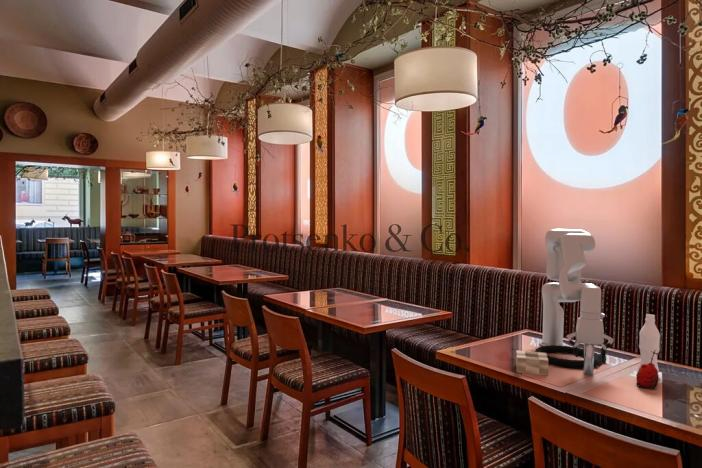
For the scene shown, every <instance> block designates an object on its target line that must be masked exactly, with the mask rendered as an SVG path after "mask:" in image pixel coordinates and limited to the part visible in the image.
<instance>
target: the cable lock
mask: <svg viewBox="0 0 702 468" xmlns="http://www.w3.org/2000/svg"><path fill="white" fill-rule="evenodd" d="M533 352H541V353H546V354H547V358H548V365H551V366H555V367H561V368H567V369H584V359H566V358H559V357H555V356H550V355H548V354H552V353H556V354H558V353H559V354H561V353H562V354H569V355H570V354H571V355H574V353H573V352H574V346H569V345H566V346H557V345H550V346H539V347H537V348H535V350H534V351H533ZM578 357H583V358H584V348H581V347H578ZM604 362H605V363H606V362H607V356H606V357H604V360H602V359H601V353H597V352H594V368H596V367H598V366H599V365H601V364H604Z"/></svg>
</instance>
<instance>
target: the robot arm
mask: <svg viewBox="0 0 702 468" xmlns="http://www.w3.org/2000/svg"><path fill="white" fill-rule="evenodd" d="M544 242H545V243H544V244H545V247H546V251H547V256H546V269H545V270H546V271H545V272H546V277H547V279H548V280H550V282H547V283H544V284H543V285H542V287H541V295H542V340H539V342H538V345H540V346H541V347H543V346H550V345H557V346H567V344H566V342H564V315H565V313H564V308H563V307H562V306H561V305H560V303H575V302H578V301H580V307H579V309H580V310H579V317H577V320H576V327H575V331H574V332H571V333H569V334H567V335H566V338H567V340H568V341H569V344H571V345H572V347H574V352H573V353H574V354H573V356H575V358H578V357H579V355H578V348H579V347H578V346H579V345H580V344H594V346H597V345H598V346H601V348H600V354H601V359H602V360H604V357H606V358H607V354H606V353H607V349H608V348H610V347H611V345H613V343H614V338H612V337H611V336H609V335H606V333H605V331H604V328H605V327H604V323H603V320H602V318H605V316H606V314H605V313H602V312H601V311H602V289H601V288H600V286H598V285H595V284H594V283H589V282H585V283H584V282H582V269H583V268H584V267H585V266H586V265H587V258H586V255H585V253H591V252H593V251H594V250H595V248H596V240H595V237H594V236H593V235H592V234H591V232H588V231H585V230H583V229H577V228H575V229H574V228H573V229H571V228H570V229H569V228H553V229H548V230H547V231H546V233H545V235H544ZM551 281H558V282H551ZM573 337H575V341H574V340H572V339H573ZM605 339H606V340H607V341H608V342H605ZM604 343H605V344H604Z"/></svg>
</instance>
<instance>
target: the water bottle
mask: <svg viewBox="0 0 702 468" xmlns="http://www.w3.org/2000/svg"><path fill="white" fill-rule="evenodd" d="M644 321H645V322H644V325H643V326H642V327H641V329H640V330H639V342H638V343H639V344H638V348H639V352H640V361H639V364H638V366H637V367H638V369H637V370H639V368H640V367H641V365H642V364H649V363H650V362H651V358H652V356H653V352H654V351H655V350H656V351H655V353H658V354H659V352H660V343H661V341H660V339H661V334H660V332H659V329H658V327H657V325H656V315H655V314H650V313H646V314H645V319H644ZM651 351H652V352H651ZM652 364H654V365H655V367H656V369H657V371H658V374H659V373H660V370H659V369H660V368H659V365H658V355H656V354H654V356H653V360H652Z"/></svg>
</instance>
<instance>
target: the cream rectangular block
mask: <svg viewBox="0 0 702 468" xmlns="http://www.w3.org/2000/svg"><path fill="white" fill-rule="evenodd" d="M515 351H516V353H515V354H516V355H515V357H516V359H515V360H516V361H515V366H516V367H515V368H516V373H519V374H521V373H523V374H533V375H542V376H549V364H548V358H547V355H548V353H541V352H534V351H529V350H518V349H516V350H515Z"/></svg>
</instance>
